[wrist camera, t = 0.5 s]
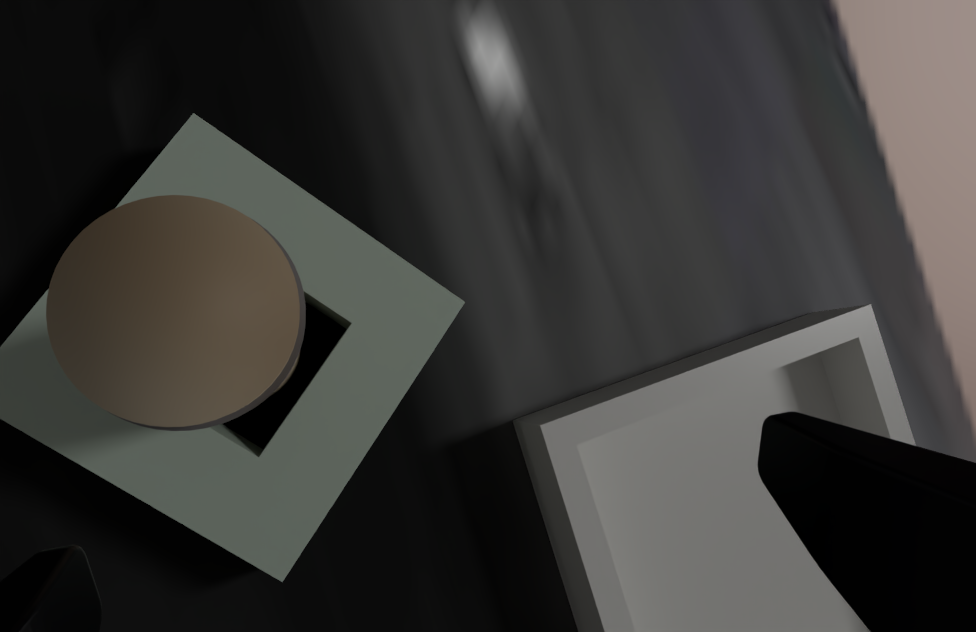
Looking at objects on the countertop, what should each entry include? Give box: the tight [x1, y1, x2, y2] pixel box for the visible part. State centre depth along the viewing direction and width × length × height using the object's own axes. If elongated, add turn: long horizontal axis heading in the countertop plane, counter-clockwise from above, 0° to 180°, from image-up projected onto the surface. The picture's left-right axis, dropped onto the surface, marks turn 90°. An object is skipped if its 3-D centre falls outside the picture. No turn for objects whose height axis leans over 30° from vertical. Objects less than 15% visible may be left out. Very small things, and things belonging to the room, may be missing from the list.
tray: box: [512, 304, 916, 632], centre depth 25 cm, size 14×14×3 cm
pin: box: [46, 195, 306, 431], centre depth 16 cm, size 4×4×12 cm
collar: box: [0, 113, 465, 582], centre depth 21 cm, size 10×10×2 cm
